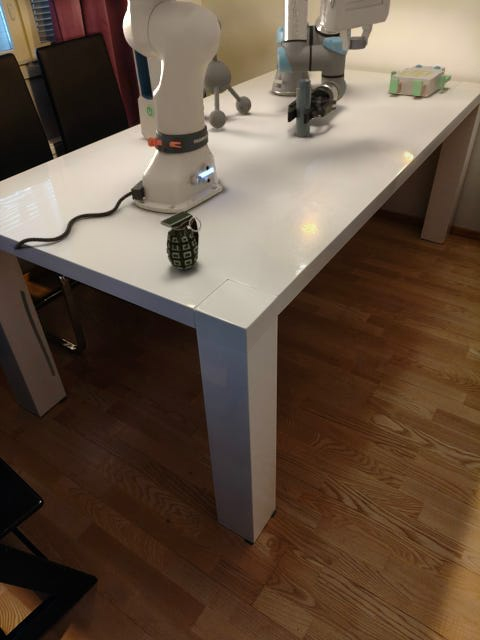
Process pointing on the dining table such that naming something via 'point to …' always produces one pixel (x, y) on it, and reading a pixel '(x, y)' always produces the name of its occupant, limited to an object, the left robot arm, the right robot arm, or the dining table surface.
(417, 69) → the decorative block
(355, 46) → the lid
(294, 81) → the right robot arm
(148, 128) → the electronic device
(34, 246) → the dining table surface
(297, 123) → the grey cylinder
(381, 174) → the dining table surface
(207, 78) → the molecular model
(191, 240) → the grenade
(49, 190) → the dining table surface
